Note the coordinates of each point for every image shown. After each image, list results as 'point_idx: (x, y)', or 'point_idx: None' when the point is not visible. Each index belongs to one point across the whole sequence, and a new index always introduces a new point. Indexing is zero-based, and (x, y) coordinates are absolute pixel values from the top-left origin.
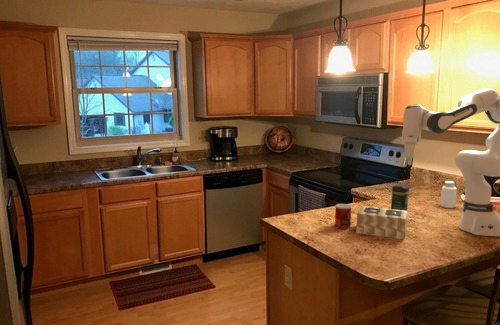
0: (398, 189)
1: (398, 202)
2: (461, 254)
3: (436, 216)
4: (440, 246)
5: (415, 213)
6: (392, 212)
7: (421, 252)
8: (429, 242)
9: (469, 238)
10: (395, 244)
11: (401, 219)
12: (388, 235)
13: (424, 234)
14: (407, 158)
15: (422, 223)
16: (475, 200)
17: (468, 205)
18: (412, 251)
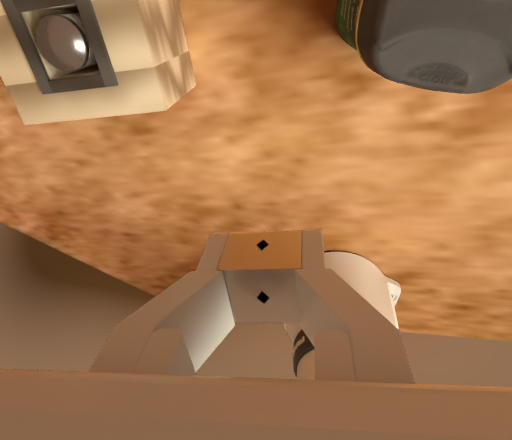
0: (371, 7)
1: (357, 11)
2: (91, 253)
3: (466, 179)
4: (109, 208)
5: None
6: (53, 39)
7: (19, 165)
8: (120, 178)
9: None
10: None
11: (18, 103)
12: None
13: (189, 157)
14: (116, 326)
15: (329, 135)
16: (297, 378)
17: (304, 341)
18: (2, 140)
